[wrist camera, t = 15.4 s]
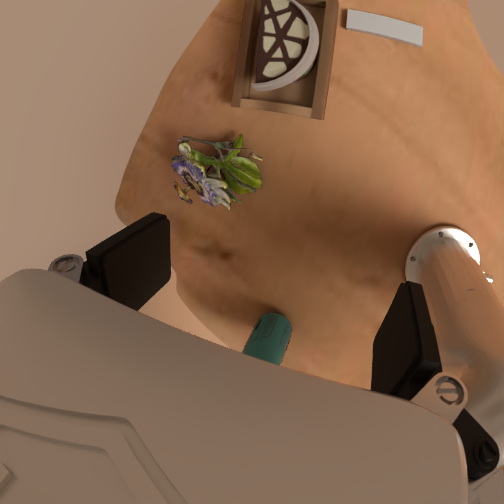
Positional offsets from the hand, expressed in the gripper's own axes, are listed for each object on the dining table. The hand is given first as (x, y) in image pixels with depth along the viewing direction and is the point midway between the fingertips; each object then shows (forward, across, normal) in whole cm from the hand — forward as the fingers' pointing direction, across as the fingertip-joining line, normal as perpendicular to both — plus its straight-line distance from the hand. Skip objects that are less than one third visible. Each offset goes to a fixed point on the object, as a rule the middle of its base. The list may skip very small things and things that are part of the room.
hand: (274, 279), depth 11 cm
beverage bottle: (+31, +3, +29) cm, 42 cm away
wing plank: (+31, -4, -20) cm, 37 cm away
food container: (+30, +6, -14) cm, 33 cm away
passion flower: (+31, +15, +3) cm, 34 cm away
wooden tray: (+30, +8, -14) cm, 34 cm away
